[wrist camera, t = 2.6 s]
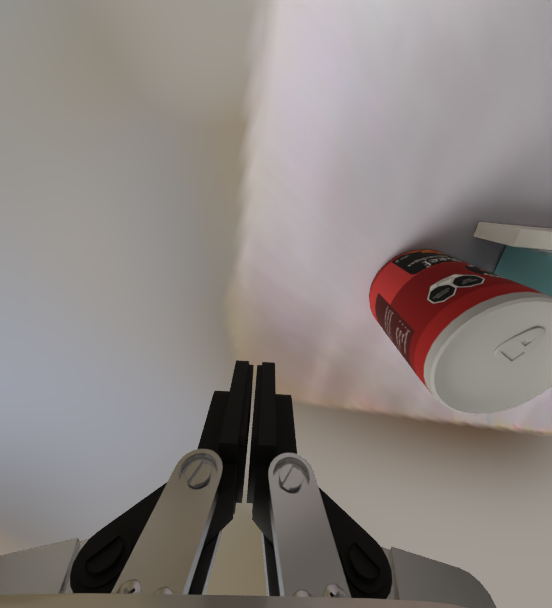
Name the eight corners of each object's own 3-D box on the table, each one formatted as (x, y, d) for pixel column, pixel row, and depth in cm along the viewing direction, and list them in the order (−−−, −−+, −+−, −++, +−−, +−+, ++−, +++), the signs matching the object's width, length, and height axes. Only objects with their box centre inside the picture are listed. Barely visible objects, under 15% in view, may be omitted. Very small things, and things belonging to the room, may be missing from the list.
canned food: (470, 264, 23) (621, 325, 13) (419, 336, 26) (508, 430, 16) (396, 233, 22) (498, 273, 12) (351, 312, 25) (402, 397, 15)
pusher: (506, 244, 22) (601, 268, 16) (520, 246, 22) (620, 270, 16) (463, 340, 26) (524, 391, 20) (474, 341, 26) (539, 392, 20)
